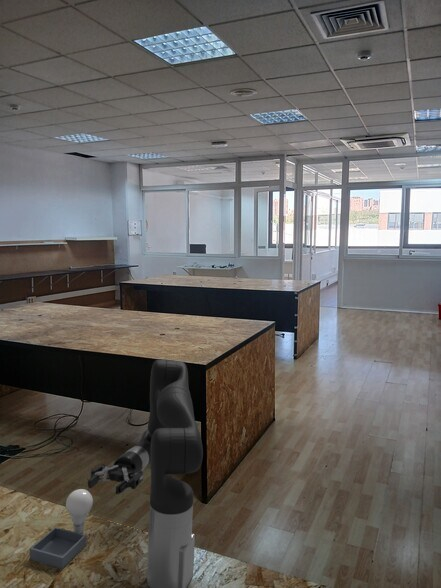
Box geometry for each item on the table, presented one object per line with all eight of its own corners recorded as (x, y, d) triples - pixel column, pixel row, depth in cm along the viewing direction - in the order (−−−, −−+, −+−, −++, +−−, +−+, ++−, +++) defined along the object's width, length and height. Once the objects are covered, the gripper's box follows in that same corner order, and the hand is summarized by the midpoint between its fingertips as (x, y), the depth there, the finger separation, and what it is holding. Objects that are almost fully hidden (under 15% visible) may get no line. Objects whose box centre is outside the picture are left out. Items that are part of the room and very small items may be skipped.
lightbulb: (59, 535, 109) (60, 492, 108) (78, 522, 115) (79, 481, 114) (78, 544, 106) (79, 500, 106) (97, 530, 112) (98, 488, 111)
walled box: (86, 545, 106) (86, 535, 106) (62, 569, 98) (62, 557, 98) (54, 537, 109) (55, 526, 108) (29, 559, 100) (29, 548, 100)
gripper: (111, 447, 138) (80, 469, 122) (153, 455, 133) (126, 479, 118) (111, 470, 138) (79, 496, 123) (152, 479, 134) (126, 506, 118)
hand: (103, 487), depth 120 cm, fingers open, 8 cm apart
